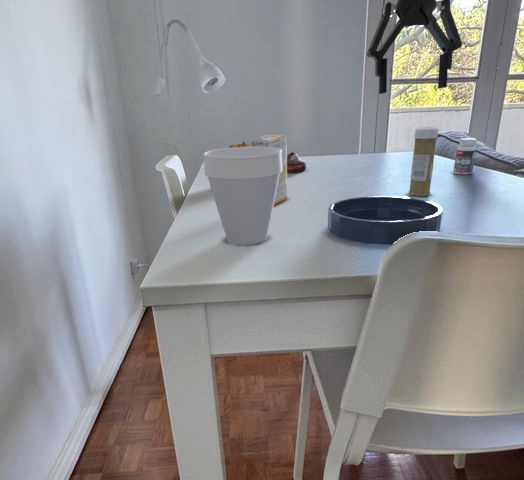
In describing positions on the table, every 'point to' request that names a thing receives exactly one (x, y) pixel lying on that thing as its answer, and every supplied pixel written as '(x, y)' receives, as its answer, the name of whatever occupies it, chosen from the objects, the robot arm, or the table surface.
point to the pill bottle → (465, 156)
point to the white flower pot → (244, 190)
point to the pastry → (295, 163)
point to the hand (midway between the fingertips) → (412, 90)
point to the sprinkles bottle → (423, 160)
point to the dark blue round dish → (382, 218)
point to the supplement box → (281, 143)
